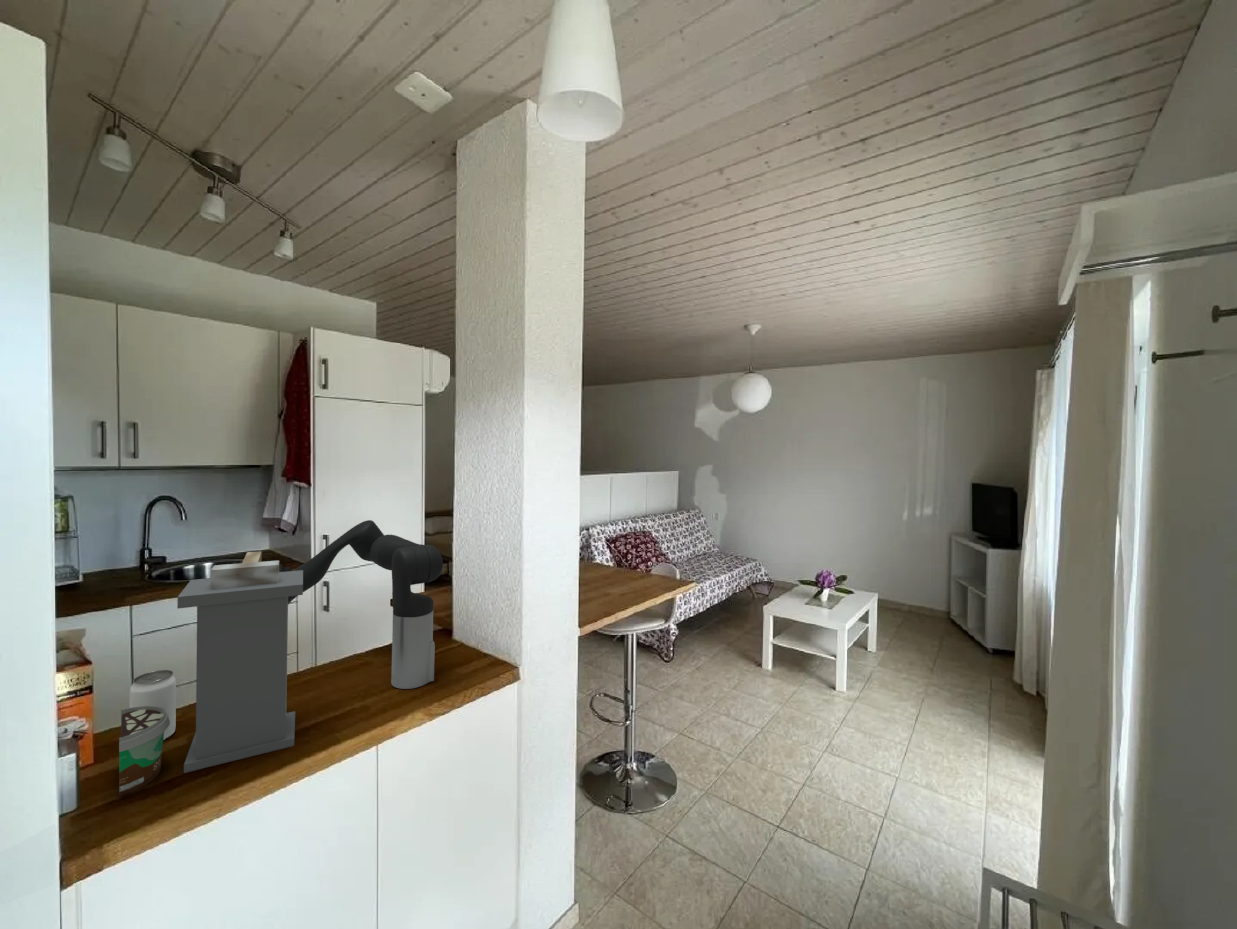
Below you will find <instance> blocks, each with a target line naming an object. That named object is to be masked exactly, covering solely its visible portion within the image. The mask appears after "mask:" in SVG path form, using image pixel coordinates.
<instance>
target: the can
mask: <svg viewBox="0 0 1237 929" xmlns="http://www.w3.org/2000/svg"><path fill="white" fill-rule="evenodd" d="M132 682H133V683H132V684H131V686H130V688H129V708H133V707H140V706H157V707H161V708H163V709H164V710H165V712H166V713H167V715H168V718H169V721H170V724H169V726H168V728H167V729H166V730H165V731H164V738H163V741H166V740H167V739H169V738H170V737H171V736H172V735H173V734H174V733H175V732H176V715H177V713H176V711H177V709H176V708H177V706H176V705H177V700H176V698H177V680H176V677H175V676H174V672H173V670H170V669H160V670H155V671H149V672H146V673H143V674H139V675H138V676H136V677H135V678H133V679H132ZM166 738H167V739H166Z"/></svg>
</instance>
